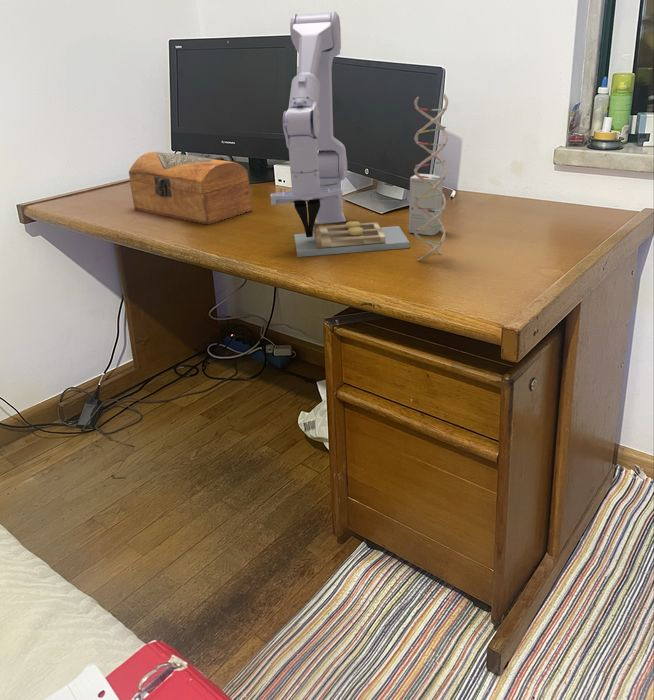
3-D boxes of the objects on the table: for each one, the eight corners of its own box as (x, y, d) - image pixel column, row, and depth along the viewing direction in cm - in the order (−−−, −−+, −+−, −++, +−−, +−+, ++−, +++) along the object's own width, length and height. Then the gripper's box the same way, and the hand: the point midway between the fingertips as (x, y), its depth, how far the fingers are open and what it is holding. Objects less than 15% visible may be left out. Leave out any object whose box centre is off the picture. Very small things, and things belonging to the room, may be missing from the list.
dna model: (433, 250, 138) (435, 91, 125) (453, 258, 133) (457, 94, 120) (405, 256, 135) (404, 95, 122) (424, 265, 130) (426, 98, 117)
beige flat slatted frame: (313, 232, 149) (312, 218, 148) (377, 227, 150) (376, 213, 148) (317, 247, 139) (316, 232, 138) (385, 242, 140) (385, 227, 139)
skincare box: (408, 233, 149) (407, 177, 144) (416, 227, 153) (416, 172, 147) (434, 236, 146) (435, 179, 141) (442, 230, 150) (443, 174, 145)
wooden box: (130, 211, 182) (120, 158, 176) (180, 197, 193) (172, 146, 186) (202, 228, 163) (194, 169, 157) (253, 211, 174) (247, 156, 168)
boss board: (294, 239, 150) (293, 223, 148) (398, 231, 151) (398, 214, 149) (297, 257, 139) (296, 239, 137) (409, 247, 140) (409, 230, 139)
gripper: (268, 177, 134) (274, 244, 140) (342, 171, 134) (345, 238, 140) (268, 169, 140) (274, 234, 146) (339, 164, 141) (342, 229, 147)
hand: (309, 235), depth 144 cm, fingers closed
